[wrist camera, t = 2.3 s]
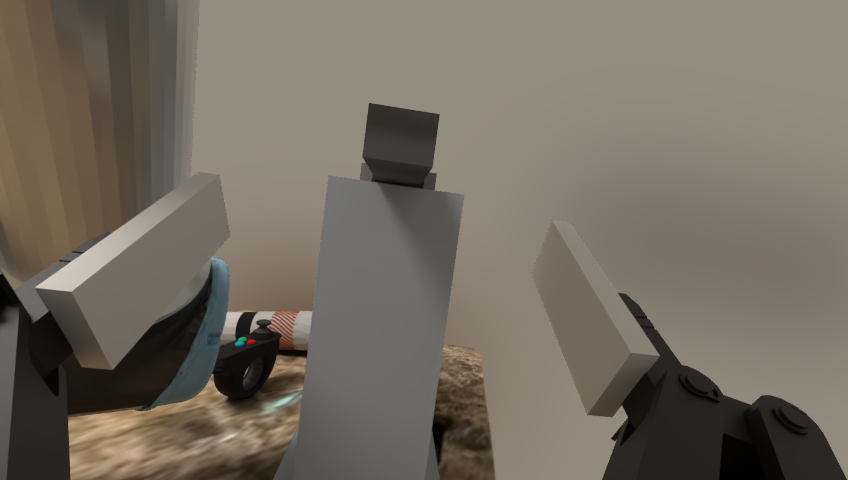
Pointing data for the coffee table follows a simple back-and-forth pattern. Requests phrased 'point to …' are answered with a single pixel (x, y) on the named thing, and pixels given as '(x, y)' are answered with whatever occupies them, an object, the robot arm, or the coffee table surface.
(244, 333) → the black white tapered cylinder
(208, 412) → the coffee table surface
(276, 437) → the coffee table surface
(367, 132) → the bar
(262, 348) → the controller
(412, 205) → the post
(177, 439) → the coffee table surface
